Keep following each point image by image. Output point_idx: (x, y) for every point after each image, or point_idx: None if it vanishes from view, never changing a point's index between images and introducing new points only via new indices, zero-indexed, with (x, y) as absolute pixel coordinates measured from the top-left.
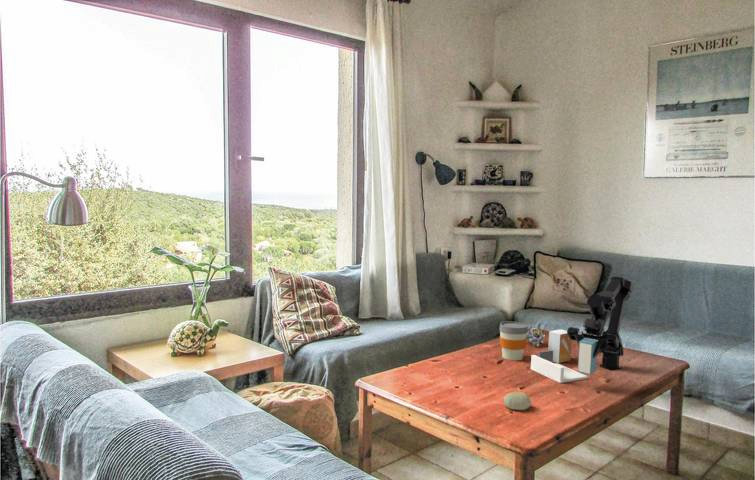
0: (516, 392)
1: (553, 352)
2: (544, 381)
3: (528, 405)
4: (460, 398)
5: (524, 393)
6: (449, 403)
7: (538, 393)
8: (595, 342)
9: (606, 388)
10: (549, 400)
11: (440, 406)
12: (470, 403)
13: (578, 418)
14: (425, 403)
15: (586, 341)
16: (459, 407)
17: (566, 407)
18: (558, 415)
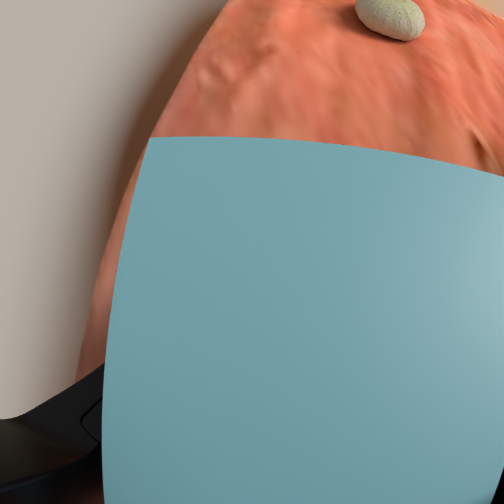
0: (403, 2)
1: None
2: None
3: (355, 4)
4: (486, 37)
5: (389, 7)
6: (473, 17)
7: (414, 121)
8: (107, 424)
9: None
10: (350, 81)
11: (468, 7)
12: (456, 21)
13: (222, 27)
14: (488, 14)
15: (391, 328)
16: (450, 6)
17: (277, 59)
18: (275, 18)
